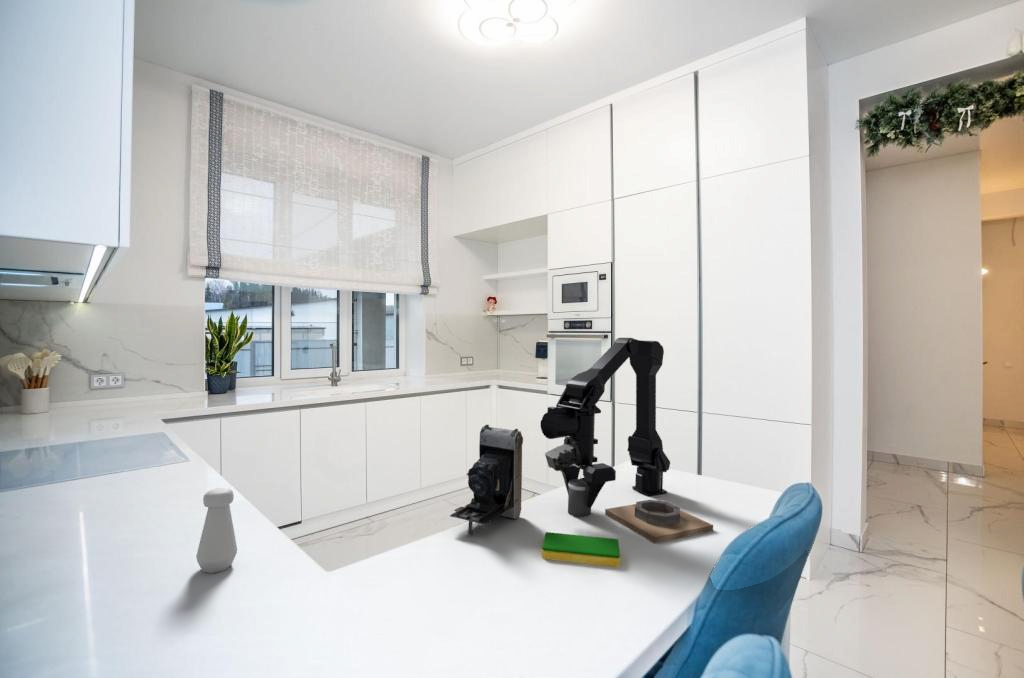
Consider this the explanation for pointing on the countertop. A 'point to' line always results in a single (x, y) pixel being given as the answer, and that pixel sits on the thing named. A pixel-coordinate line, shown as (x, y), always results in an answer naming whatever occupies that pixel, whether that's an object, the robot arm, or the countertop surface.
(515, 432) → the vintage camera
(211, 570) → the salt shaker
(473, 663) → the countertop surface
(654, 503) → the mount
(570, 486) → the lens
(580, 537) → the dish sponge
